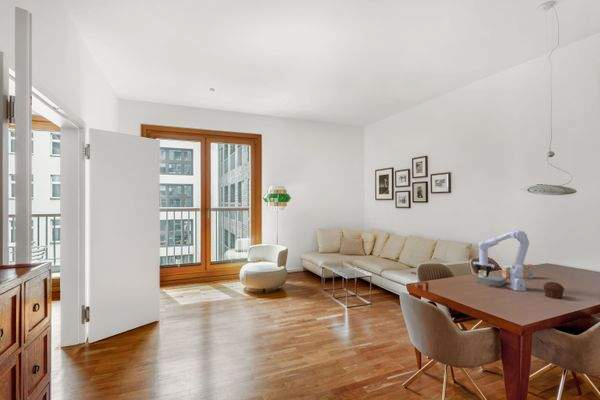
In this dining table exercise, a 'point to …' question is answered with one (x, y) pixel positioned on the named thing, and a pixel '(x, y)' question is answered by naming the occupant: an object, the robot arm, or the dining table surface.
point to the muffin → (553, 290)
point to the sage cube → (483, 273)
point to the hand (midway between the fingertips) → (483, 275)
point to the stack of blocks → (526, 271)
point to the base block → (492, 280)
